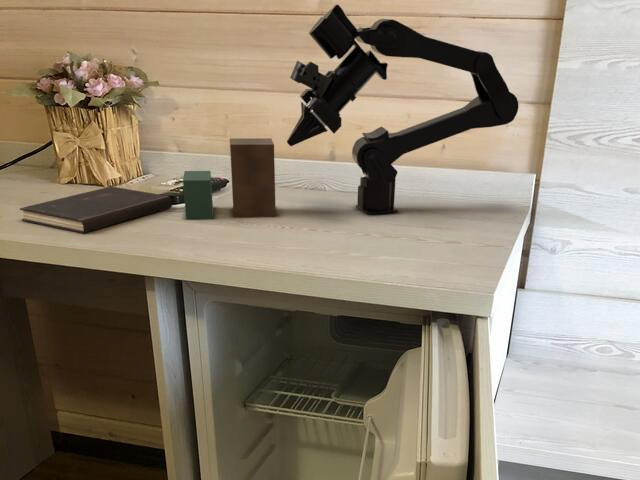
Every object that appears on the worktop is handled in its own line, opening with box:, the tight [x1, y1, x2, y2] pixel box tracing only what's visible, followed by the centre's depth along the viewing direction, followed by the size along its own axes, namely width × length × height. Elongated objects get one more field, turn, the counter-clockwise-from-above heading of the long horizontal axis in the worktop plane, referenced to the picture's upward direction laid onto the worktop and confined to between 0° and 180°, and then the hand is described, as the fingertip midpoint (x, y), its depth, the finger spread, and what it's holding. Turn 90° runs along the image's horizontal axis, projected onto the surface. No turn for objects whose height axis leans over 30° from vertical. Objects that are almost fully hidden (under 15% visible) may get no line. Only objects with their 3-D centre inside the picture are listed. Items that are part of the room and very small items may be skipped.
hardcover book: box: [19, 186, 173, 234], centre depth 140 cm, size 16×23×2 cm
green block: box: [182, 170, 214, 220], centre depth 141 cm, size 5×9×7 cm, turn 8°
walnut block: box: [229, 137, 277, 218], centre depth 141 cm, size 8×7×13 cm
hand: (288, 144), depth 139 cm, fingers closed
